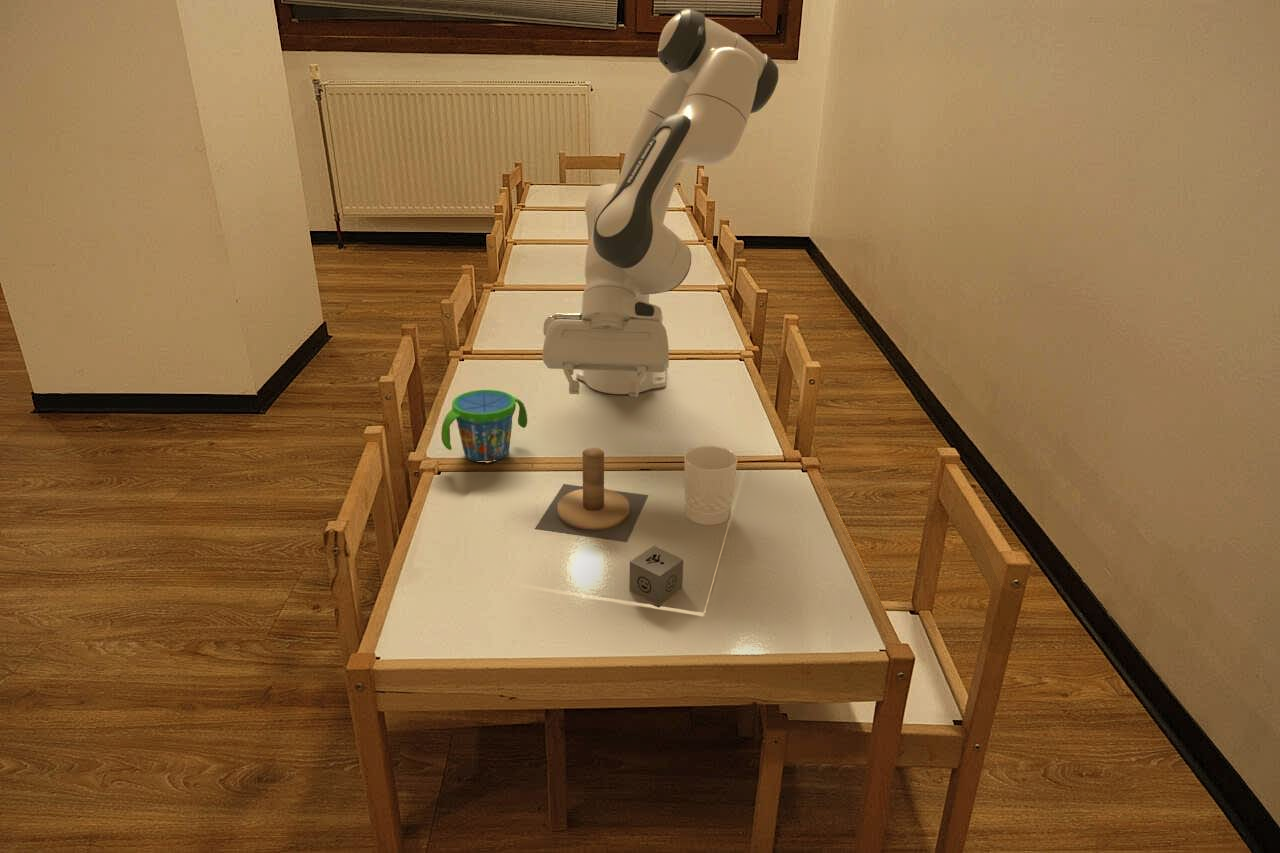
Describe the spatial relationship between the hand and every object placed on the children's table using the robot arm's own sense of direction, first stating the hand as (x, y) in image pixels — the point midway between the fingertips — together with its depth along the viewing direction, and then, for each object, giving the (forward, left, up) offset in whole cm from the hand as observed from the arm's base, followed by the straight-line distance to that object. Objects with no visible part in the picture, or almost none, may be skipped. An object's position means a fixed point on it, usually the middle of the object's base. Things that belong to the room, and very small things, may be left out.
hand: (603, 394), depth 141 cm
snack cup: (-3, -22, -15) cm, 27 cm away
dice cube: (+28, +15, -15) cm, 36 cm away
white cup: (+7, +18, -15) cm, 25 cm away
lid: (+11, +1, -15) cm, 19 cm away
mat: (+11, +1, -15) cm, 19 cm away
